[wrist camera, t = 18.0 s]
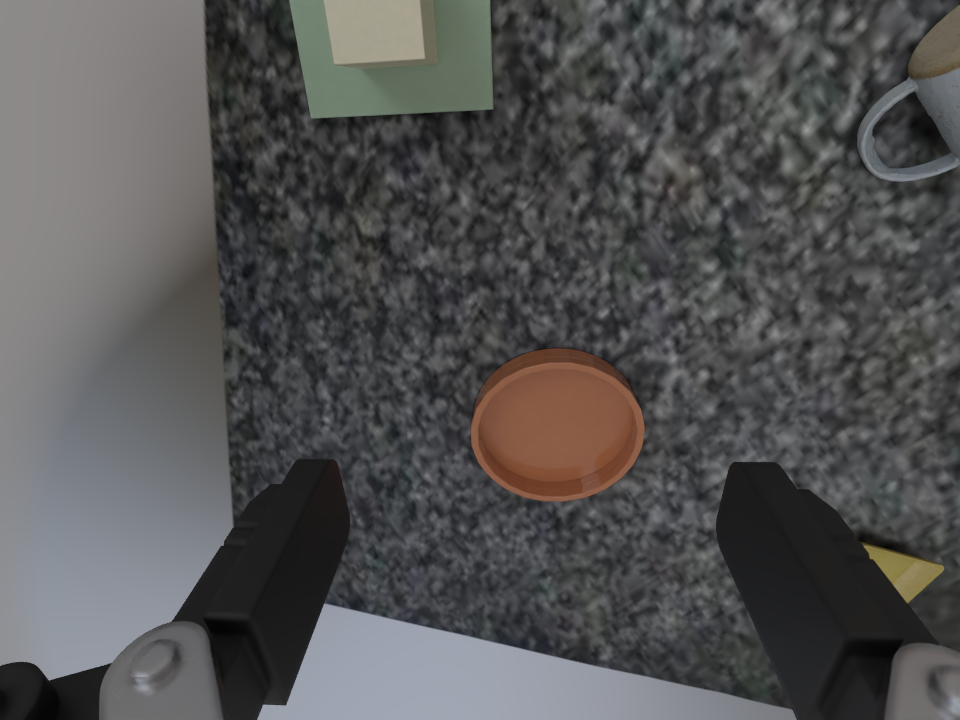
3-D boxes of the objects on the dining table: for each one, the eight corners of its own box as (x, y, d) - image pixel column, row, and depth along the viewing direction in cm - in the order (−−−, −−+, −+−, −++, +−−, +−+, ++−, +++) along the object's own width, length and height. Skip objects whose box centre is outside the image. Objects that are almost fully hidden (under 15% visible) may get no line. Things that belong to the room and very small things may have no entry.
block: (359, 69, 31) (333, 65, 27) (344, -31, 29) (314, -53, 24) (438, 64, 31) (425, 59, 26) (430, -38, 28) (414, -62, 24)
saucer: (851, 527, 47) (865, 545, 45) (931, 550, 48) (948, 568, 46) (798, 584, 51) (809, 603, 49) (873, 604, 52) (886, 623, 50)
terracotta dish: (477, 481, 47) (475, 500, 45) (468, 348, 40) (466, 363, 38) (629, 482, 46) (635, 502, 44) (646, 346, 39) (654, 361, 37)
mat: (313, 118, 33) (310, 118, 33) (277, -77, 28) (274, -79, 28) (493, 109, 32) (493, 109, 32) (487, -94, 27) (487, -97, 27)
